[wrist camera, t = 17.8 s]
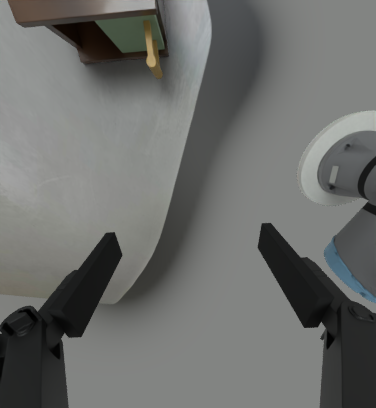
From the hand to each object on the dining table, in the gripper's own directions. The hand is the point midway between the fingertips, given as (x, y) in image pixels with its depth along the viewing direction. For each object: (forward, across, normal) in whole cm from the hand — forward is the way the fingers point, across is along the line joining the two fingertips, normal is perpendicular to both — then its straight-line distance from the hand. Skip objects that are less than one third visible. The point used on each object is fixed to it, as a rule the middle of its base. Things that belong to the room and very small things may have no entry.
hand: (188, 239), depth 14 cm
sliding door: (+25, -6, +20) cm, 33 cm away
